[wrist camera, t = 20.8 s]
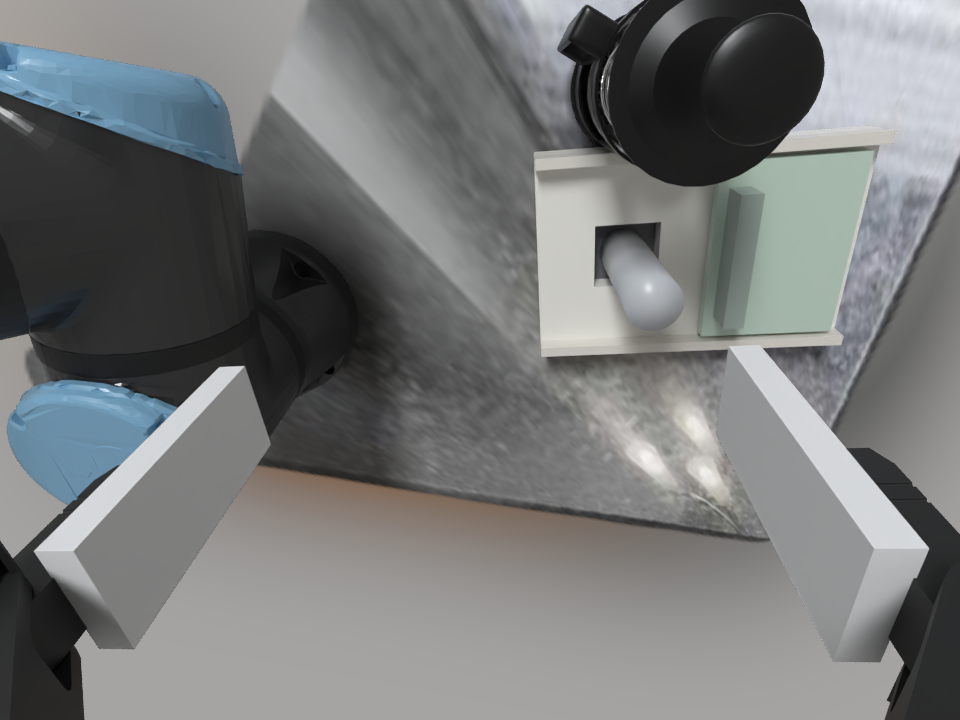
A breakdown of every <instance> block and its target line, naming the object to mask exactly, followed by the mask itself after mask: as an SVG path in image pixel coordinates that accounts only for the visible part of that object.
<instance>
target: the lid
mask: <svg viewBox="0 0 960 720" xmlns="http://www.w3.org/2000/svg"><path fill="white" fill-rule="evenodd" d="M874 152H875V151H874V150H870V149H856V150H843V151H829V152H816V153H803V154H790V155H776V156H767V157H766V158H765V159H764V160H763V161H761V162H760V163H759V164H758V165H756V166H755V167H753V168H751V169H750V170H748V171H746V172H745V173H743V174H741V175H740V176H737V177H735V178H732V179H730V180H727V181H725V182H722V183H718V184H715V185H714V194H713V202H712V211H711V219H710V228H709V236H708V245H707V254H706V262H705V271H704V279H703V288H702V296H701V305H700V314H699V322H698V333H699V334H700V336H724V335H747V334H770V333H794V332H817V331H831V327H832V323H833V318H834V314H835V310H836V306H837V302H838V298H839V294H840V290H841V286H842V282H843V278H844V274H845V270H846V266H847V261H848V257H849V253H850V249H851V245H852V241H853V237H854V233H855V229H856V225H857V221H858V217H859V213H860V209H861V205H862V200H863V196H864V192H865V188H866V184H867V180H868V176H869V172H870V168H871V164H872V160H873V156H874Z"/></svg>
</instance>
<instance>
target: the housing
mask: <svg viewBox="0 0 960 720" xmlns="http://www.w3.org/2000/svg"><path fill="white" fill-rule="evenodd" d="M896 132H897V131H895V130H889V129H884V128H878V127H873V126H856V127H843V128H831V129H818V130H806V131H793V132H789V134H788V135H787V136H786V137H785V138H784V140H783V141H782V142H781V143H780V144H779V145H778V147H777V148H776V149H775V150H774V151H773V152H772V153H771V154H770V155H768V156H776V155H790V154H803V153H816V152H829V151H843V150H856V149H870V150H874V151H875V152H874V156H873V160H872V164H871V168H870V172H869V176H868V180H867V184H866V188H865V192H864V196H863V200H862V205H861V209H860V213H859V217H858V221H857V225H856V229H855V233H854V237H853V241H852V245H851V249H850V253H849V257H848V261H847V266H846V270H845V274H844V278H843V282H842V286H841V290H840V294H839V298H838V302H837V306H836V310H835V314H834V318H833V323H832V327H831V331H817V332H794V333H770V334H747V335H724V336H700V334H699V333H698V322H699V314H700V305H701V296H702V288H703V279H704V271H705V262H706V254H707V245H708V236H709V228H710V219H711V211H712V202H713V194H714V185H715V184H713V185H708V186H703V187H683V186H678V185H673V184H668V183H665V182H663V181H661V180H658V179H656V178H654V177H651V176H650V175H648V174H647V173H646V172H644V171H643V170H642V169H640V168H639V167H637V166H635V165H633V164H631V163H629V162H628V161H626V160H625V159H623V158H622V157H620V156H619V155H617V154H615V153H614V152H612V151H611V150H609V149H608V148H606V147H593V148H580V149H568V150H555V151H543V152H534V173H535V201H536V228H537V256H538V284H539V312H540V339H541V357H553V356H577V355H602V354H627V353H652V352H677V351H702V350H726V349H728V347H729V346H747V345H760V346H761V347H762V348H776V347H801V346H826V345H841V344H842V340H843V335H842V334H841V333H839V332H838V331H837V330H836V329H835V328H834V326H835V322H836V318H837V314H838V310H839V306H840V302H841V298H842V294H843V290H844V286H845V282H846V278H847V274H848V270H849V266H850V262H851V258H852V254H853V250H854V246H855V242H856V238H857V234H858V230H859V226H860V222H861V218H862V214H863V210H864V206H865V202H866V198H867V194H868V190H869V186H870V182H871V178H872V174H873V170H874V166H875V161H876V157H877V153H878V149H879V145H882V144H893V143H894V140H895V136H896ZM621 152H622V151H621ZM623 153H624V152H623ZM624 154H626V153H624ZM622 228H626V229H631V230H633V231H635V232H636V233H638V234H639V235H640V237H641V238H642V239H643V241H644V242H645V243H646V244H647V246H648V247H649V248H650V249H651V251H652V252H653V253H654V255H655V256H656V257H657V258H658V260H659V261H660V262H661V264H662V265H663V266H664V267H665V269H666V270H667V271H668V273H669V274H670V275H671V276H672V278H673V279H674V280H675V282H676V283H677V284H678V285H679V287H680V288H681V290H682V292H683V295H684V307H683V310H682V313H681V314H680V316H679V317H678V319H677V320H676V321H675V322H674V323H672V324H671V325H670V326H668V327H666V328H664V329H661V330H657V331H646V330H642V329H639V328H637V327H636V326H634V325H633V324H632V323H631V322H630V320H629V319H628V317H627V315H626V313H625V311H624V308H623V306H622V304H621V302H620V300H619V298H618V296H617V293H616V291H615V289H614V287H613V285H612V283H611V281H610V278H609V276H608V274H607V272H606V270H605V268H604V265H603V263H602V261H601V259H600V255H599V249H600V245H601V242H602V241H603V239H604V238H605V237H606V236H607V235H608V234H609V233H610V232H612V231H614V230H617V229H622Z"/></svg>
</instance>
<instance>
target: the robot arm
mask: <svg viewBox="0 0 960 720" xmlns="http://www.w3.org/2000/svg"><path fill="white" fill-rule="evenodd" d="M241 175H244V171H243V168H242V166H241V165H240V164H239V163H238V159H237V154H236V149H235V144H234V139H233V133H232V127H231V122H230V116H229V112H228V108H227V106H226V104H225V102H224V100H223V99H222V97H221V96H220V94H219V93H218V92H217V91H216V90H215V89H214V88H213V87H212V86H211V85H209V84H208V83H207V82H205V81H203V80H202V79H200V78H198V77H195V76H192V75H188V74H183V73H177V72H172V71H166V70H161V69H154V68H149V67H144V66H138V65H132V64H127V63H121V62H115V61H110V60H104V59H98V58H92V57H86V56H81V55H75V54H70V53H64V52H58V51H53V50H47V49H42V48H36V47H30V46H24V45H19V44H13V43H7V42H1V41H0V340H3V339H7V338H11V337H16V336H20V335H25V334H29V336H30V338H31V341H32V344H33V347H34V349H35V352H36V355H37V358H38V361H39V363H40V366H41V369H42V372H43V375H44V383H43V384H38V385H36V386H34V387H33V388H31V389H30V390H28V391H26V392H25V393H24V394H23V395H22V397H21V399H20V402H19V403H18V405H17V406H16V409H15V410H14V412H12V414H11V415H10V417H9V419H8V424H7V434H8V440H9V444H10V447H11V449H12V451H13V453H14V455H15V457H16V459H17V461H18V462H19V463H20V465H21V466H22V467H23V469H24V470H25V471H26V472H27V473H28V475H29V476H30V477H31V478H32V479H33V480H34V481H35V482H36V483H38V484H39V485H40V486H41V487H42V488H43V489H45V490H46V491H47V492H48V493H50V494H52V495H53V496H54V497H55V498H57V499H58V500H60V501H61V502H63V503H65V504H67V505H68V506H67V507H66V508H65V509H64V510H63V514H59V515H58V516H57V517H56V518H55V519H54V520H53V521H51V522H50V523H49V525H47V526H46V527H45V528H44V530H42V531H41V532H40V533H39V534H38V535H37V536H36V537H35V538H34V539H33V540H32V541H31V542H30V543H29V544H28V545H27V546H26V547H25V548H24V549H22V550H21V552H19V553H18V554H17V555H16V556H15V557H14V558H12V557H11V555H10V554H9V553H8V551H7V550H6V548H5V547H4V546H3V544H2V543H1V541H0V720H84V708H83V707H84V706H83V689H82V672H81V657H80V655H79V653H78V651H77V649H76V648H75V646H74V644H75V643H76V642H77V641H78V639H79V638H80V637H81V635H82V634H83V633H84V632H85V630H87V631H88V633H89V634H90V636H91V637H92V639H93V640H94V642H95V643H96V645H97V646H98V648H99V649H101V648H102V649H135V647H136V646H137V644H138V643H139V641H140V639H141V638H142V637H143V635H144V634H145V632H146V631H147V629H148V628H149V626H150V625H151V623H152V622H153V620H154V619H155V617H156V616H157V614H158V613H159V611H160V610H161V608H162V607H163V605H164V604H165V602H166V601H167V599H168V598H169V596H170V595H171V593H172V592H173V590H174V589H175V587H176V586H177V584H178V583H179V581H180V580H181V578H182V577H183V575H184V574H185V572H186V571H187V569H188V568H189V566H190V565H191V563H192V562H193V560H194V559H195V557H196V556H197V554H198V553H199V551H200V549H201V548H202V547H203V545H204V544H205V542H206V541H207V539H208V538H209V536H210V535H211V533H212V532H213V530H214V529H215V527H216V526H217V524H218V523H219V521H220V520H221V518H222V517H223V515H224V514H225V512H226V511H227V509H228V508H229V506H230V505H231V503H232V502H233V500H234V499H235V497H236V496H237V495H238V493H239V491H240V490H241V489H242V487H243V486H244V484H245V483H246V481H247V479H248V478H249V476H250V475H251V473H252V472H253V471H254V469H255V468H256V466H257V465H258V463H259V462H260V460H261V459H262V457H263V456H264V454H265V453H266V451H267V450H268V448H269V447H270V445H271V443H270V440H269V437H270V435H271V434H272V432H273V431H274V429H275V428H276V426H277V425H278V424H279V422H280V421H281V419H282V418H283V416H284V415H285V413H286V412H287V410H288V409H289V407H290V406H291V404H292V403H293V401H294V400H295V398H297V397H299V396H301V395H303V394H305V393H307V392H309V391H310V390H312V389H314V388H316V387H318V386H320V385H321V384H323V383H325V382H326V381H327V380H329V379H330V378H331V377H332V376H333V375H334V374H335V373H336V372H337V371H338V370H339V369H340V367H341V366H342V364H343V363H344V361H345V360H346V358H347V356H348V355H349V353H350V351H351V349H352V347H353V345H354V342H355V338H356V333H357V312H356V307H355V303H354V300H353V297H352V294H351V292H350V290H349V288H348V286H347V284H346V282H345V280H344V279H343V277H342V276H341V274H340V273H339V272H338V270H337V269H336V268H335V267H334V266H333V265H332V263H331V262H330V261H329V260H328V259H326V258H325V257H324V256H323V255H322V254H321V253H319V252H318V251H317V250H315V249H314V248H312V247H311V246H309V245H308V244H306V243H304V242H302V241H300V240H298V239H296V238H293V237H291V236H288V235H285V234H281V233H277V232H272V231H262V230H254V231H248V227H247V219H246V211H245V203H244V195H243V187H242V179H241ZM716 435H717V437H718V439H719V441H720V443H721V445H722V447H723V449H724V451H725V453H726V454H727V456H728V458H729V460H730V462H731V464H732V466H733V468H734V470H735V472H736V474H737V476H738V478H739V480H740V482H741V484H742V486H743V488H744V489H745V491H746V493H747V495H748V497H749V499H750V501H751V503H752V505H753V507H754V509H755V511H756V513H757V515H758V517H759V519H760V521H761V522H762V524H763V526H764V528H765V530H766V532H767V534H768V536H769V538H770V540H771V542H772V544H773V546H774V548H775V550H776V551H777V554H778V555H779V557H780V559H781V561H782V563H783V565H784V567H785V569H786V571H787V573H788V575H789V577H790V579H791V581H792V582H793V585H794V586H795V588H796V590H797V592H798V594H799V596H800V598H801V600H802V602H803V604H804V606H805V608H806V610H807V612H808V614H809V616H810V618H811V620H812V621H813V623H814V625H815V627H816V629H817V631H818V633H819V635H820V637H821V639H822V641H823V643H824V645H825V647H826V649H827V651H828V653H829V655H830V656H831V658H832V660H833V661H837V662H839V661H840V662H881V659H882V657H883V654H884V652H885V650H886V648H887V645H888V643H889V641H891V642H892V644H893V645H894V647H895V649H896V650H897V652H898V653H899V655H900V656H901V658H902V660H903V661H904V665H903V667H902V669H901V672H900V673H899V675H898V677H897V680H896V682H895V684H894V686H893V688H892V691H891V693H890V695H889V697H888V699H887V701H889V702H890V705H889V708H888V711H887V714H886V717H885V720H960V534H959V533H958V532H957V531H956V530H955V529H954V528H953V527H952V525H951V524H950V523H949V522H948V521H947V520H946V519H945V518H944V517H943V516H942V515H941V513H939V511H938V510H937V509H936V508H935V507H934V506H933V505H932V504H931V503H928V502H927V498H926V497H925V496H924V495H923V494H922V493H921V492H920V491H919V490H918V489H917V487H913V486H912V482H911V481H910V480H909V479H908V478H907V477H906V476H905V474H904V473H903V472H902V471H901V470H900V469H899V468H898V467H897V466H896V465H895V464H894V463H892V462H891V461H889V460H888V459H886V458H884V457H883V456H881V455H880V454H878V453H876V452H875V451H873V450H872V449H870V448H845V447H844V445H843V444H842V443H841V442H840V441H839V439H838V438H837V437H836V436H835V435H834V433H833V432H832V431H831V430H830V429H829V427H828V426H827V425H826V424H825V423H824V421H823V420H822V419H821V418H820V417H819V415H818V414H817V413H816V412H815V411H814V409H813V408H812V407H811V406H810V405H809V403H808V402H807V401H806V400H805V399H804V397H803V396H802V395H801V394H800V393H799V391H798V390H797V389H796V388H795V387H794V385H793V384H792V383H791V382H790V381H789V379H788V378H787V377H786V376H785V375H784V373H783V372H782V371H781V370H780V369H779V367H778V366H777V365H776V364H775V363H774V361H773V360H772V359H771V358H770V357H769V355H768V354H767V353H766V352H765V351H764V349H763V348H762V347H761V346H760V345H747V346H729V347H728V354H727V360H726V367H725V374H724V380H723V387H722V394H721V401H720V407H719V414H718V421H717V427H716Z"/></svg>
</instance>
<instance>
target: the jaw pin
mask: <svg viewBox="0 0 960 720" xmlns="http://www.w3.org/2000/svg"><path fill="white" fill-rule="evenodd" d="M599 255H600V259H601V261H602V263H603V265H604V268H605V270H606V272H607V274H608V276H609V278H610V281H611V283H612V285H613V287H614V289H615V291H616V293H617V296H618V298H619V300H620V302H621V304H622V306H623V308H624V311H625V313H626V315H627V317H628V319H629V320H630V322H631V323H632V324H633V325H634V326H636V327H637V328H639V329H642V330H646V331H657V330H661V329H664V328H666V327H668V326H670V325H671V324H672V323H674V322H675V321H676V320H677V319H678V317H679V316H680V314H681V313H682V310H683V307H684V295H683V292H682V290H681V288H680V287H679V285H678V284H677V283H676V282H675V280H674V279H673V278H672V276H671V275H670V274H669V273H668V271H667V270H666V269H665V267H664V266H663V265H662V264H661V262H660V261H659V260H658V258H657V257H656V256H655V255H654V253H653V252H652V251H651V249H650V248H649V247H648V246H647V244H646V243H645V242H644V241H643V239H642V238H641V237H640V235H639V234H638V233H636V232H635V231H633V230H631V229H626V228H622V229H617V230H614V231H612V232H610V233H609V234H608V235H607V236H606V237H605V238H604V239H603V241H602V242H601V245H600V249H599Z"/></svg>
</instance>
